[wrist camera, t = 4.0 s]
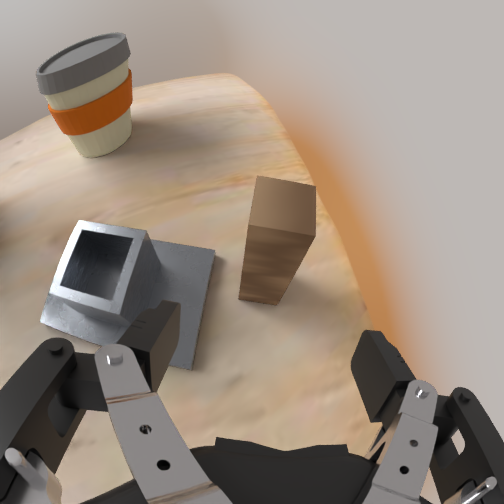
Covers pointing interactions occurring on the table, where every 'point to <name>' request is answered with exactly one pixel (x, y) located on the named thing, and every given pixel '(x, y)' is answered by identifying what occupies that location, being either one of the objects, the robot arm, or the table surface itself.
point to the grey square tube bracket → (126, 285)
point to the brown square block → (276, 237)
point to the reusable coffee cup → (90, 93)
